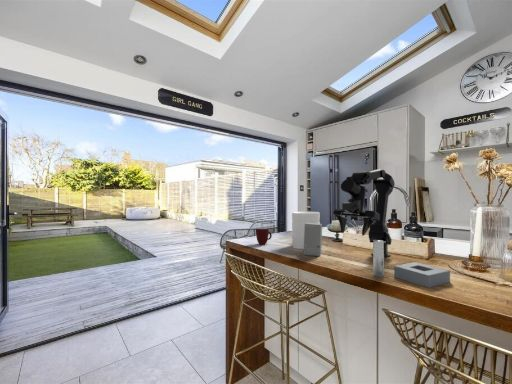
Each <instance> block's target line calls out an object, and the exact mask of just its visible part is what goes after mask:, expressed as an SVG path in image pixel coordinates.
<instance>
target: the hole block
mask: <svg viewBox="0 0 512 384" xmlns="http://www.w3.org/2000/svg"><path fill="white" fill-rule="evenodd" d="M393 267H394V275H393V276H394V278H397V279H400V280H403V281H405V282H410V283H413V284H416V285H419V286H422V287H425V288H428V289H429V288H434V287H437V286H441V285H444V284H448V283H451V270H449V269H445V268H441V267H438V266H437V267H436V266H433V265H429V264H424V263H421V262H416V261H413V262H407V263H403V264H398V265H394V266H393Z"/></svg>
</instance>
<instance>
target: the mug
mask: <svg viewBox="0 0 512 384" xmlns="http://www.w3.org/2000/svg"><path fill="white" fill-rule="evenodd" d="M269 230H270V228H269V227H264V226H263V227H262V226H261V227H256V228H255V236H256V241H257V244H258V245H259V244H260V246H265V244H267V243H268V241H269V240H271V239H272V233H271V231H269Z"/></svg>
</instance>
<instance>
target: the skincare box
mask: <svg viewBox="0 0 512 384" xmlns="http://www.w3.org/2000/svg"><path fill="white" fill-rule="evenodd" d="M322 238H323V224H322V223H320V224H316V223H305V231H304V249H303V255H304V256H313V257H315V256H316V257H320V256H321V255H322V248H323V247H322V243H323V239H322Z"/></svg>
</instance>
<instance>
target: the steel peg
mask: <svg viewBox="0 0 512 384" xmlns="http://www.w3.org/2000/svg"><path fill="white" fill-rule="evenodd" d="M372 253H373V255H372V256H373V257H372V260H373V262H372V264H373V265H372V266H373V267H372V268H373V276H374V277H377V278H384V277H385V257H384V241H382V240H373V243H372Z"/></svg>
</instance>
